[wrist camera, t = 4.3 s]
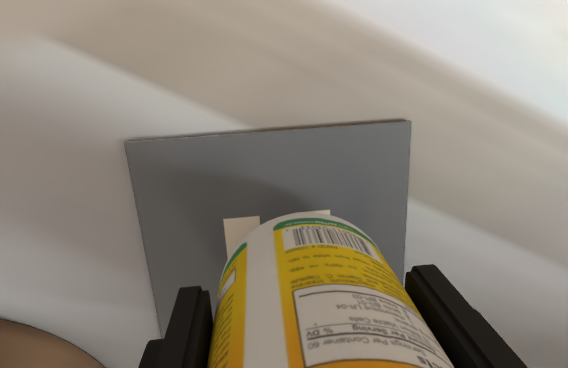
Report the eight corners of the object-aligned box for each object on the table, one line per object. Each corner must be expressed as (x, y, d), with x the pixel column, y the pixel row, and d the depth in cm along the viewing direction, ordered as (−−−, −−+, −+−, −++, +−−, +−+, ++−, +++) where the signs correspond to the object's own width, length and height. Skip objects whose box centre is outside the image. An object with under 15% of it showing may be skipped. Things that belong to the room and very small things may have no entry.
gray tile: (408, 120, 13) (411, 121, 13) (397, 344, 16) (399, 348, 15) (126, 141, 12) (123, 142, 12) (169, 370, 15) (168, 375, 15)
